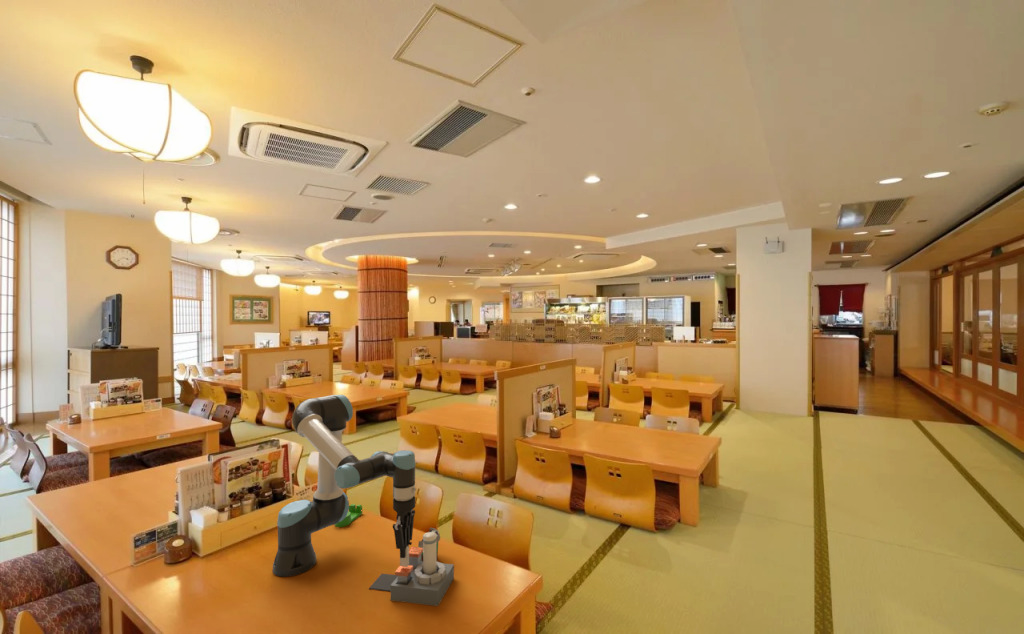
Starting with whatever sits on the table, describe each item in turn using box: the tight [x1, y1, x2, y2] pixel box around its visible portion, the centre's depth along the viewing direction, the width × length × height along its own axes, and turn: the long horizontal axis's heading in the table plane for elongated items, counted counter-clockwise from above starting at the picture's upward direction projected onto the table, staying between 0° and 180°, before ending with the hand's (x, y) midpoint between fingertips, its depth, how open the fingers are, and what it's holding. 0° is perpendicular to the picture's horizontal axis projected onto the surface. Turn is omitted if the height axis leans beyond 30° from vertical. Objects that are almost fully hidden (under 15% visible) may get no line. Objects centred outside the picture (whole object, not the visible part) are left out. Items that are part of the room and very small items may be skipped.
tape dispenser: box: [334, 503, 363, 528], centre depth 209 cm, size 15×7×5 cm, turn 168°
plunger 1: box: [394, 565, 413, 585], centre depth 150 cm, size 5×5×7 cm
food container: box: [417, 527, 441, 561], centre depth 172 cm, size 12×6×10 cm, turn 168°
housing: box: [390, 561, 455, 607], centre depth 153 cm, size 17×16×7 cm
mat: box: [368, 573, 398, 592], centre depth 157 cm, size 9×9×1 cm
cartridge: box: [422, 531, 438, 575], centre depth 153 cm, size 5×5×14 cm
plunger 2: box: [409, 546, 423, 570], centre depth 159 cm, size 5×5×7 cm
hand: (404, 565), depth 151 cm, fingers closed
